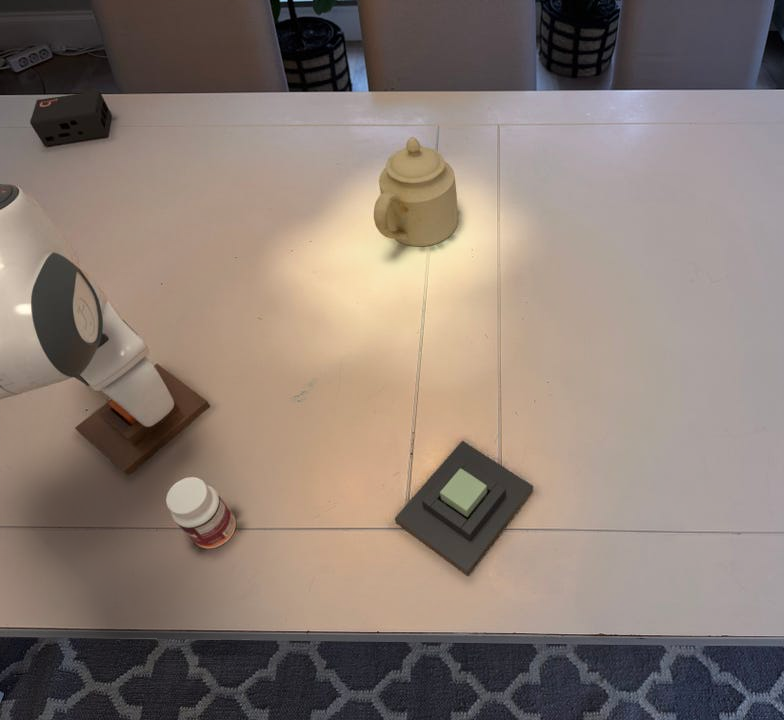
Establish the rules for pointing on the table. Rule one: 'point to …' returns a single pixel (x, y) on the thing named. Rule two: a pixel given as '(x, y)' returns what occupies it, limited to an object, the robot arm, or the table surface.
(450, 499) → the near key
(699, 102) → the table surface
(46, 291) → the robot arm
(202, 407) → the brown button base
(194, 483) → the pill bottle
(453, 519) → the dark grey stepped base
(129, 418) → the far key
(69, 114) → the electronic device
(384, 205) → the sugar bowl
